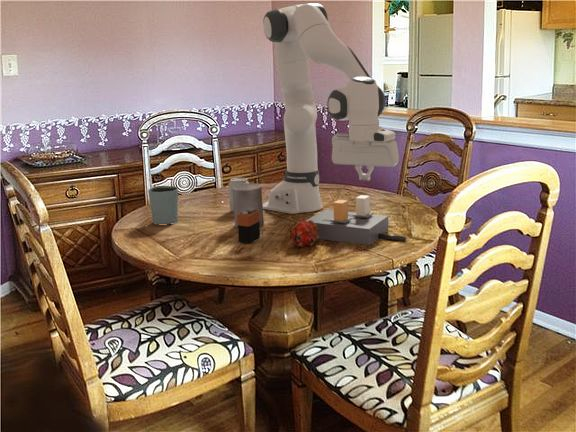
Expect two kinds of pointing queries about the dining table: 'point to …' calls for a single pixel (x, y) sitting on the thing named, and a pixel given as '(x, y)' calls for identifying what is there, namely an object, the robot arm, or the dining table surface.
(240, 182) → the can
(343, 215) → the orange block
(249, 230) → the battery
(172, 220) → the grey bin
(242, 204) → the pillar candle
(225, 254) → the dining table surface
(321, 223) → the breaker strip
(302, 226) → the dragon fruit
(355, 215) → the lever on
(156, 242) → the dining table surface
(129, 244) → the dining table surface
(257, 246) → the dining table surface
